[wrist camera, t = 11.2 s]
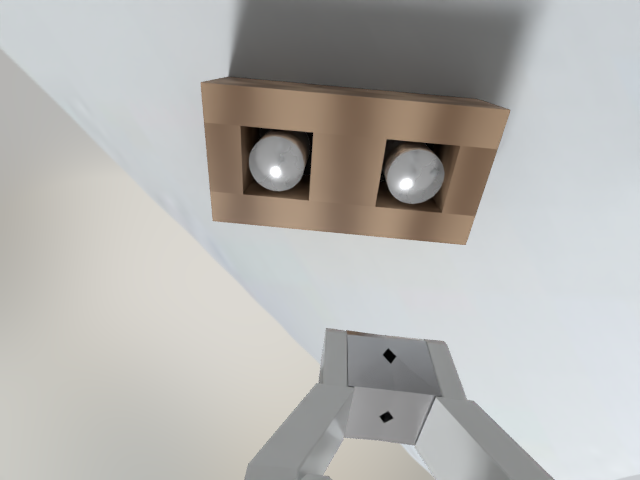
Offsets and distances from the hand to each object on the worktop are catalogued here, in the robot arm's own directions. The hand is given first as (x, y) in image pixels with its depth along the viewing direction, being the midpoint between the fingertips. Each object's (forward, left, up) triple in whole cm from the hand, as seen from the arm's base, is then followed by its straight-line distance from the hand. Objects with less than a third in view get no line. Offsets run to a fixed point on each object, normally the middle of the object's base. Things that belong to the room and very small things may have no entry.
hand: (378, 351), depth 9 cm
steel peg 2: (+4, +2, -23) cm, 24 cm away
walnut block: (0, -1, -23) cm, 23 cm away
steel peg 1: (-4, -4, -23) cm, 24 cm away
